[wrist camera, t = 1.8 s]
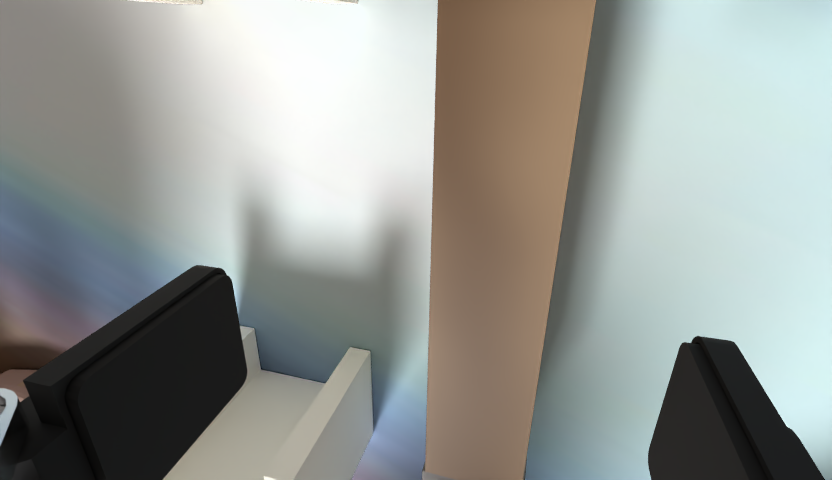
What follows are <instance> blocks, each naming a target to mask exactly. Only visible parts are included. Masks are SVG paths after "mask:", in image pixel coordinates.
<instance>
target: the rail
mask: <svg viewBox="0 0 832 480" xmlns="http://www.w3.org/2000/svg"><path fill="white" fill-rule="evenodd" d="M595 5H596V0H438V17H437V54H436V91H435V127H434V164H433V201H432V238H431V275H430V311H429V348H428V385H427V422H426V458H425V464H424V467H423V470H422V480H525V473H526V461H527V450H528V443H529V436H530V430H531V423H532V417H533V410H534V404H535V397H536V391H537V384H538V378H539V371H540V364H541V358H542V351H543V345H544V338H545V332H546V325H547V319H548V312H549V306H550V299H551V293H552V286H553V279H554V273H555V266H556V260H557V253H558V247H559V240H560V234H561V227H562V221H563V214H564V207H565V201H566V194H567V188H568V181H569V175H570V168H571V162H572V155H573V149H574V142H575V135H576V129H577V122H578V116H579V109H580V103H581V96H582V90H583V83H584V77H585V70H586V63H587V57H588V50H589V44H590V37H591V31H592V24H593V18H594V11H595Z"/></svg>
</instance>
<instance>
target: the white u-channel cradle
mask: <svg viewBox="0 0 832 480" xmlns="http://www.w3.org/2000/svg"><path fill="white" fill-rule="evenodd" d="M129 1H142V2H156V3H169V4H202V0H129ZM303 1H311V2H320V3H328V4H358V0H303ZM240 330H241V336H242V342H243V347H244V353H245V359H246V364H247V377H246V381H245V383H244V385H243V386H242V387H241V388H240V390H239V391H238V392H237V393H236V394H235V396H234V397H233V398H232V399H231V400H230V401H229V403H228V404H227V405H226V406H225V407H224V408H223V410H222V411H221V412H220V413H219V414H218V415H217V417H216V418H215V419H214V420H213V421H212V422H211V424H210V425H209V426H208V427H207V428H206V430H205V431H204V432H203V433H202V434H201V435H200V437H199V438H198V439H197V440H196V441H195V442H194V444H193V445H192V446H191V447H190V448H189V449H188V451H187V452H186V453H185V454H184V455H183V456H182V458H181V459H180V460H179V461H178V462H177V463H176V465H175V466H174V467H173V468H172V469H171V471H170V472H169V473H168V474H167V475H166V476H165V478H164V479H163V480H351V479H352V477H353V475H354V473H355V471H356V469H357V467H358V465H359V462H360V460H361V458H362V456H363V454H364V452H365V450H366V448H367V445H368V443H369V441H370V439H371V437H372V435H373V407H372V380H371V352H370V351H368V350H363V349H357V348H352V347H350V348H349V349H348V351H347V352H346V354H345V355H344V357H343V358H342V360H341V361H340V363H339V364H338V366H337V367H336V369H335V370H334V372H333V373H332V375H331V376H330V378H329V379H328V381H327V382H326V383H320V382H316V381H311V380H307V379H302V378H298V377H293V376H289V375H284V374H279V373H275V372H270V371H266V370H261V367H260V360H259V354H258V348H257V342H256V335H255V329H254V328H250V327H245V326H240Z"/></svg>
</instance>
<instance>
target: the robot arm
mask: <svg viewBox="0 0 832 480" xmlns="http://www.w3.org/2000/svg"><path fill="white" fill-rule="evenodd" d="M246 377H247V364H246V359H245V353H244V347H243V342H242V336H241V330H240V325H239V319H238V313H237V307H236V302H235V296H234V290H233V285H232V281H231V279H230V277H229V276H227V275H226V273H225V271H224V270H223V269H221V268H215V267H208V266H201V265H196V266H194V267H192V268H190V269H189V270H187V271H186V272H184V273H183V274H181V275H180V276H178V277H177V278H175V279H174V280H172V281H171V282H169V283H168V284H166V285H165V286H163V287H162V288H160V289H159V290H157V291H156V292H154V293H153V294H151V295H150V296H148V297H147V298H145V299H144V300H142V301H141V302H139V303H138V304H136V305H135V306H133V307H132V308H130V309H129V310H127V311H126V312H124V313H123V314H121V315H120V316H118V317H117V318H115V319H114V320H112V321H111V322H109V323H108V324H106V325H105V326H103V327H102V328H100V329H99V330H97V331H96V332H94V333H93V334H91V335H90V336H88V337H87V338H85V339H84V340H82V341H81V342H79V343H78V344H76V345H75V346H73V347H72V348H70V349H69V350H67V351H66V352H64V353H63V354H61V355H60V356H58V357H57V358H55V359H54V360H52V361H51V362H49V363H48V364H46V365H45V366H43V367H42V368H40V369H39V370H37V371H36V372H34V373H33V374H31V375H30V376H28V377H27V378H25V379H24V380H23V382H24V384H25V387H26V389H27V391H28V394H29V396H28V397H27V398H25V399H24V400H23V401H21V402H20V401H19V399H18V397H17V395H16V394H15V393H14V391H11V390H8V389H5V388H0V480H163V479H164V478H165V476H166V475H167V474H168V473H169V472H170V471H171V469H172V468H173V467H174V466H175V465H176V463H177V462H178V461H179V460H180V459H181V458H182V456H183V455H184V454H185V453H186V452H187V451H188V449H189V448H190V447H191V446H192V445H193V444H194V442H195V441H196V440H197V439H198V438H199V437H200V435H201V434H202V433H203V432H204V431H205V430H206V428H207V427H208V426H209V425H210V424H211V422H212V421H213V420H214V419H215V418H216V417H217V415H218V414H219V413H220V412H221V411H222V410H223V408H224V407H225V406H226V405H227V404H228V403H229V401H230V400H231V399H232V398H233V397H234V396H235V394H236V393H237V392H238V391H239V390H240V388H241V387H242V386H243V385H244V383H245V381H246ZM648 465H649V471H650V475H651V479H652V480H825V479H824V478H823V476H822V474H821V473H820V471H819V470H818V468H817V466H816V465H815V463H814V462H813V460H812V458H811V457H810V455H809V454H808V452H807V450H806V449H805V447H804V446H803V444H802V442H801V441H800V439H799V438H798V436H797V435H796V434H795V433H794V432H793V430H791V429H790V428H788V427H786V425H785V423H784V422H783V420H782V418H781V417H780V415H779V414H778V412H777V410H776V409H775V407H774V405H773V404H772V402H771V400H770V399H769V397H768V396H767V394H766V392H765V391H764V389H763V387H762V386H761V384H760V383H759V381H758V379H757V378H756V376H755V374H754V373H753V371H752V369H751V368H750V366H749V365H748V363H747V361H746V360H745V358H744V356H743V355H742V353H741V352H740V350H739V348H738V347H737V345H736V344H735V343H734V342H732V341H728V340H721V339H714V338H707V337H700V336H697V337H695V338H694V339H693V340H692V342H691V343H686V342H684V343H682V344H681V346H680V348H679V351H678V355H677V358H676V361H675V364H674V368H673V371H672V374H671V378H670V381H669V384H668V388H667V391H666V394H665V398H664V401H663V404H662V407H661V411H660V414H659V417H658V421H657V424H656V427H655V431H654V434H653V437H652V441H651V444H650V447H649V453H648Z"/></svg>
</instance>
